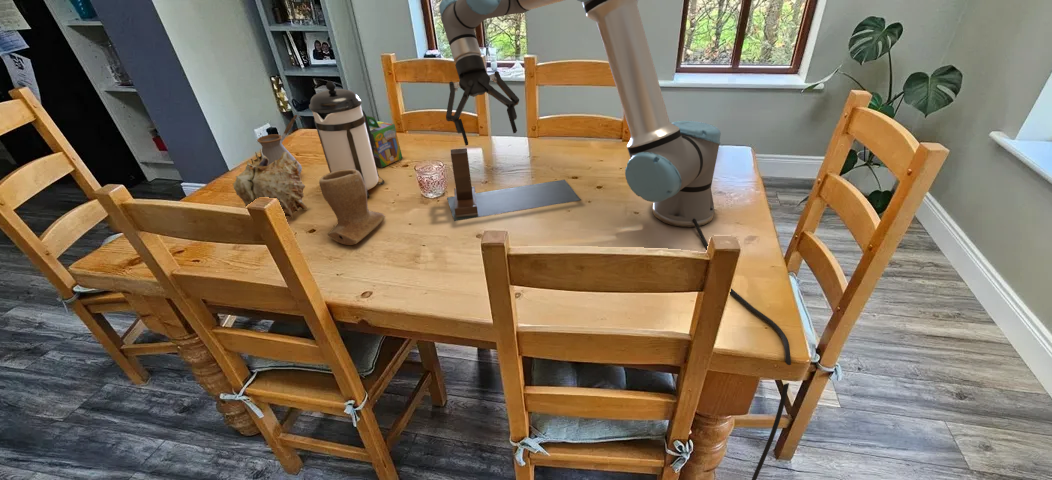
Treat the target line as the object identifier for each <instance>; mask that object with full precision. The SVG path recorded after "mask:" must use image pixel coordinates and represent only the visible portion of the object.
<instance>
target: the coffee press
mask: <svg viewBox="0 0 1052 480" xmlns="http://www.w3.org/2000/svg"><path fill="white" fill-rule="evenodd" d="M336 87H337V85H336V84H335V82H333V81H327V83H326V84H325V88H326V89H327V90H323V91H319V92H317V93H315V94H313V96H312V97H311V98H310V101H309V102H310V104H309V105H308V108H309V110H310V111H311V113H312V115H313V118H314V119H313V122H314V126H315V128H316V132H317V135H318V138H319V141H320V145H321V148H322V151H323V155H324V159H325V161H326V165H327V168H328V171H329V173H331V172H335V171H339V170H345V169H355V170H357V171H359V172H360V173H361V175H362V177H363V180H364V182H365V185H366V190H367V199H369V198H370V194H369V190H371V189H373V188H374V187H375V186H377V184H378V185H381V186H382V185H384V184H385V180H384V179H383V178H381V177H380V175H379V171H378V167H377V166H376V163H375V159H374V145H373V140H372V136H371V132H370V128H369V124H368V120H367V117H366V116H367V114H366V112H365V111H364V109H363V108H362V104H363V103H362V102H363V101H362V99H361V98H360V97H359V96H358V94H357V93H355V92H354V91H352V90H349V89H345V88H344V89H343V88H336ZM379 179H380V180H381V182H379Z"/></svg>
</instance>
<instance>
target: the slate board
mask: <svg viewBox="0 0 1052 480" xmlns="http://www.w3.org/2000/svg"><path fill="white" fill-rule="evenodd" d="M475 193H476V202H477V211H478V215H475V216H465V217H456V213H455V196H447V197H446V200H447V203H448V207H449V208H450V213H451V216H452V219H453V222H459V221H464V220H471V219H477V218H482V217H488V216H496V215H501V214H507V213H508V214H509V213H514V212H519V211H524V210H525V211H526V210H530V209H531V210H532V209H537V208H543V207H549V206H555V205H563V204H566V203H573V202H580V201H582V199H581V197H580V196H579V195H578V194H577V193H576V191H575V190H574V189H573V188H572V186H571V185H570V184H569V183H568V182H567V180H566V179H558V180H553V181H546V182H539V183H532V184H526V185H520V186H513V187H505V188H500V189H494V190H488V191H487V190H486V191H480V192H475Z"/></svg>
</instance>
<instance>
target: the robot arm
mask: <svg viewBox="0 0 1052 480" xmlns="http://www.w3.org/2000/svg"><path fill="white" fill-rule="evenodd" d="M563 1H565V0H441V1H440V3H439V6H438V10H439V14H440V20H441V23H442V26H443V29H444V32H445V36H446V39H447V42H448V45H449V49H450V52H451V56H452V58H453V62H454V63H455V64H454V65H455V70H456V73H457V76H458V79H459V80H458V82H457V81H456V82H454V81H449V83H448V85H449V87H448V88H449V96H448V101H447V107H446V113H445V119H446V122H453V123H454V126H455V130H456V133H457V134H461V135H462V138H463V142H464V145H465V146H469V141H468V137H467V133H466V131H465V127H464V124H463V121H462V118H460V117H461V115H462V113H463V111H464V108H465V106H466V104H467V101H468V100H469V97H473V98H474V97H477V96H483V95H485V94H486V93H487V94H488V95H490V96H492V97H493V98H494V99H496V100H497V101H498V102H500V103H501V104H503V105H504V106H505V107H507V108H506V113H507V116H508V119H509V123H510V127H511V130H512V134H517V131H518V129H517V125H516V120H517V119H518V115H517V112H516V108H515V106H518V105H519V103H520V99H519V97H518V96H517V95H516V94H515V93H514V91H513V90H512V89H511V88H510V87H509V86H508V84H507V83H506V82H505V81H504V79H503V78H502V77H501V74H500V72H499V71H498V70H496V71H494V73H491V74H489V73H488V72H487V68H486V66H485V62H484V58H483V57H482V51H481V49H480V45H479V42H478V38H477V36H476V31H475V29H476V28H478V27H479V26H480V25H481V24H482V23H483V22H484V21H486V20H489V19H494V18H495V19H496V18H500V17H504V16H505V17H506V16H511V15H520V14H526V13H527V12H530V11H531V10H534V9H538V8H542V7H545V6H550V5H552V4H556V3H560V2H563ZM577 1H578V2H580V3H582V7H583V10H584V13H585V16H586V18H587V19H589V20H591V21H594V22H595V23H596V27H597V29H598V32H599V35H600V38H601V42H602V45H603V49H604V52H605V55H606V59H607V63H608V65H609V69H610V72H611V75H612V79H613V81H614V84H615V88H616V92H617V94H618V97H619V101H620V104H621V108H622V111H623V114H624V118H625V121H626V125H627V126H628V127H627V128H628V131H629V134H630V138H629V141H628V142H627V145H626V148H627V151H628V154H629V159H628V161H627V163H626V167H625V170H624V171H625V172H624V176H625V180H626V183H627V185H628V187H629V188H630V190H631V191H632V192H633V193H634V194H635V195H636V196H637V197H640V198H641V199H642V200H644V201H646V202H650V203H653V205H652V214H653V215H654V217H655V218H656V219H657V220H659V221H661V222H663V223H665V224H667V225H670V226H674V227H681V228H695V229H696V231H697V233H698V235H699V237H700V239H701V242H702V243H703V246H704V248H705V249H706V250H707V246H708V245H709V243H708V241H707V239H706V237H705V236H704V233H703V231H702V228H701V226H704V225H707V224H708V223H710V222H711V221H712V220H713V218H714V214H715V203H714V197H713V191H712V185H713V179H714V174H715V170H716V163H717V158H718V153H719V149H720V145H721V135H722V134H721V130H720V128H719V127H717V126H716V125H714V124H710V123H707V122H702V121H696V120H695V121H694V120H677V121H673V122H672V123H671V121H670V116H669V113H668V110H667V106H666V103H665V100H664V97H663V96H664V95H663V93H662V89H661V86H660V83H659V82H660V81H659V78H658V75H657V71H656V67H655V64H654V61H653V56H652V53H651V50H650V45H649V43H648V39H647V35H646V31H645V28H644V25H643V21H642V18H641V14H640V10H639V6H638V2H639V0H577ZM490 81H492V82H493V83H496V85H497V86H498V87H499V88H500V89H501V90H502V92H503V93H504V94H505V95H503V94H502V93H501V92H500V91H498V90H496V89H495V88H494V87H493V86H492V85H491V84H490ZM459 88H460V89H461V90H462V91H463V93H462V96H461V98H460V101H459V103H458V105H457V108H456V110H455V112H454V114H453V111H454V103H455V98H456V93H457V92H458V91H459ZM729 293H730V294H731V296H733V298H735V299H736V300H737V301H739V302H740V303H741V304H742V305H743V306H744V307H746V308H747V309H748V310H749V311H751V312H752V313H753V314H755V315H756V317H757V316H758V317H759V318H760V319H762V320H763V321H764V322H766V323H767V324H769V326H770V327H772V328H773V329H774V330H775V331H776V333H777V334H778V335H779V336H780V339H781V340H782V343H783V347H784V348H783V349H784V358H785V364H786V365H787V366H790V365H792V357H791V348H790V343H789V340H788V337H787V335H786V334H785V332H784V331H783V330H782V329H781V328H780V326H779V325H778V324H777V323H775V321H773V320H772V319H771V318H770V317H768V316H766V315H765V314H764V313H762V312H761V311H760V310H758V309H757V308H755V307H754V306H753V305H751V304H750V303H749V302H748V301H747V300H746V299H745V298H744V297H742V296H741V295H740V294H739V293H737V292H736V291H735V290H734V289H733V288H732V289H731V292H729ZM789 386H790V382H787V383H783V385H782V390H781V396H780V399H779V402H778V403H779V404H778V407H777V411H776V415H775V419H774V421H773V424H772V427H771V431H770V433H769V436H768V438H767V441H766V444H765V446H764V449H763V450H762V453H761V456H760V459H759V460H758V463H757V466H756V467H755V470H754V473H753V475H752V478H751V480H757V479H758V477H759V474H760V473H761V469H762V467H763V465H764V463H765V460H766V458H767V456H768V453H769V452H770V449H771V446H772V444H773V441H774V438H775V436H776V434H777V431H778V427H779V424H780V422H781V418H782V415H783V412H784V409H785V408H784V407H785V403H786V399H787V396H788V391H789Z"/></svg>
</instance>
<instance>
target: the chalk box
mask: <svg viewBox="0 0 1052 480" xmlns="http://www.w3.org/2000/svg"><path fill="white" fill-rule="evenodd" d="M366 117H367V120H368V124H369V128H370V132H371V136H372V140H373V145H374V159H375V163H376V167H377V168H380V169H383V168H385V167H386V166H389V165H391V164H393V163H395V162H397V161H400V160H402V159H403V153H402V149H401V145H400V141H399V137H398V133H397V129H396V124H395V123H391V122H386V121H380V120H377V119H376V117H374V116H370V115H366Z"/></svg>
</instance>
